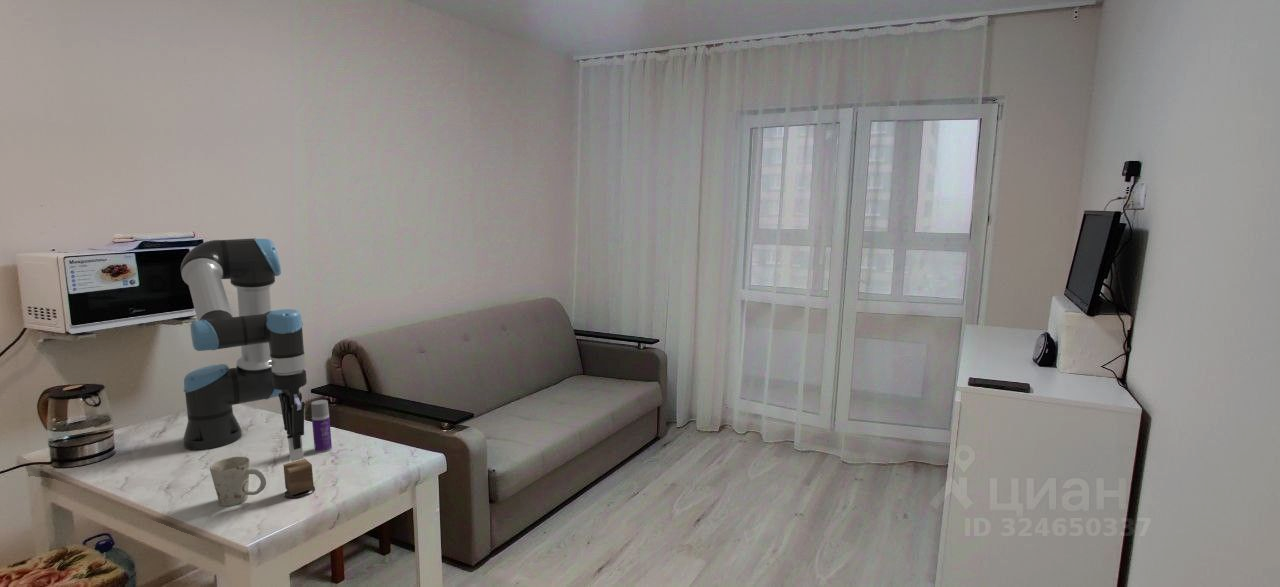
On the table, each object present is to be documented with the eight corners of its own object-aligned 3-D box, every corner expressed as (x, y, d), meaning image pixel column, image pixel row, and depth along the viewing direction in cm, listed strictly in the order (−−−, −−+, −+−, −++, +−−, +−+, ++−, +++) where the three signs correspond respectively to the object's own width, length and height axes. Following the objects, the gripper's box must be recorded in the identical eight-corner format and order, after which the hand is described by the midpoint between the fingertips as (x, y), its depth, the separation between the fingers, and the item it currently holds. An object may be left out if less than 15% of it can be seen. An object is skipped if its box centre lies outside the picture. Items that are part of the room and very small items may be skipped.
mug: (226, 493, 160) (222, 457, 159) (276, 491, 161) (273, 455, 160) (206, 509, 152) (202, 471, 150) (260, 507, 153) (256, 469, 151)
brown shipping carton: (285, 488, 161) (283, 464, 160) (307, 482, 164) (305, 458, 163) (291, 495, 157) (289, 470, 156) (313, 488, 161) (311, 464, 160)
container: (324, 453, 185) (320, 405, 183) (311, 451, 186) (306, 404, 184) (335, 447, 190) (331, 400, 188) (322, 445, 191) (318, 399, 188)
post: (280, 492, 161) (278, 466, 160) (309, 483, 166) (307, 458, 165) (289, 501, 156) (286, 475, 155) (318, 492, 161) (316, 466, 160)
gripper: (264, 368, 158) (272, 455, 162) (280, 379, 149) (288, 471, 153) (296, 363, 163) (304, 447, 167) (313, 373, 154) (320, 462, 158)
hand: (296, 459), depth 160 cm, fingers closed
